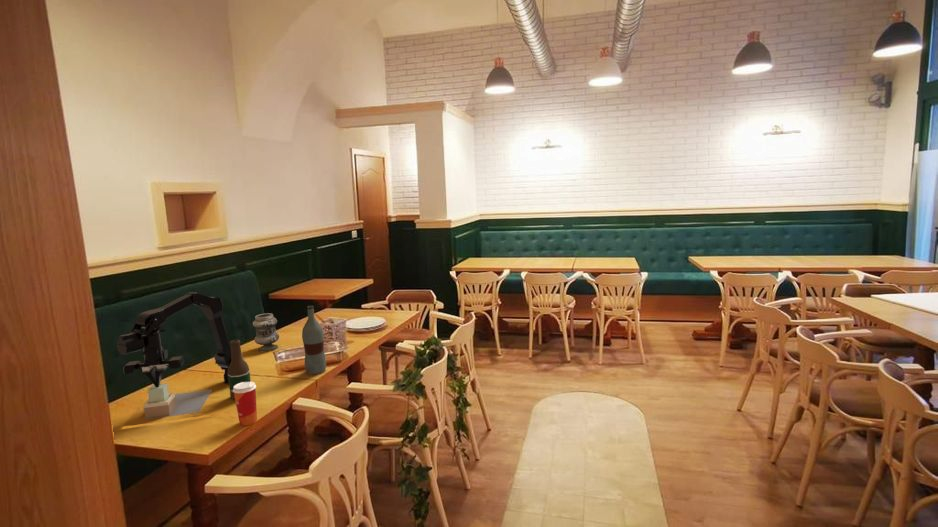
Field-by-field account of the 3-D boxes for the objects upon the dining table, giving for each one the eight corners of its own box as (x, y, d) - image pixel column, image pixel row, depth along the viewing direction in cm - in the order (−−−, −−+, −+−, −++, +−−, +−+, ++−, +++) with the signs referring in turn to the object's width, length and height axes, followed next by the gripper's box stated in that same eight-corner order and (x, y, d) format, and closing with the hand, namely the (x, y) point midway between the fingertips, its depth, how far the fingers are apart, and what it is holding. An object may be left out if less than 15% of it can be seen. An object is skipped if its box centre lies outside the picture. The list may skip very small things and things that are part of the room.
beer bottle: (256, 395, 201) (250, 338, 197) (242, 404, 194) (235, 344, 190) (241, 393, 204) (234, 337, 200) (226, 401, 196) (219, 343, 193)
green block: (169, 398, 190) (167, 383, 189) (165, 403, 185) (163, 388, 184) (154, 400, 188) (152, 385, 187) (150, 405, 184) (147, 390, 183)
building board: (213, 391, 207) (211, 377, 206) (199, 414, 186) (197, 398, 185) (164, 397, 203) (162, 383, 202) (144, 422, 182) (142, 406, 181)
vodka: (330, 367, 229) (325, 304, 224) (320, 375, 220) (314, 309, 215) (312, 366, 231) (306, 303, 226) (301, 374, 222) (294, 308, 218)
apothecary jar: (263, 344, 267) (259, 312, 264) (284, 344, 265) (281, 312, 263) (250, 352, 255) (246, 318, 252) (272, 352, 254) (269, 318, 251)
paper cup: (241, 418, 182) (236, 381, 180) (262, 416, 182) (258, 380, 180) (233, 428, 174) (228, 390, 172) (255, 426, 175) (251, 388, 172)
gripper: (186, 337, 193) (191, 375, 196) (131, 342, 189) (137, 382, 191) (177, 345, 183) (183, 386, 185) (119, 351, 178) (125, 393, 180)
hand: (157, 386), depth 186 cm, fingers closed, pressing on green block
